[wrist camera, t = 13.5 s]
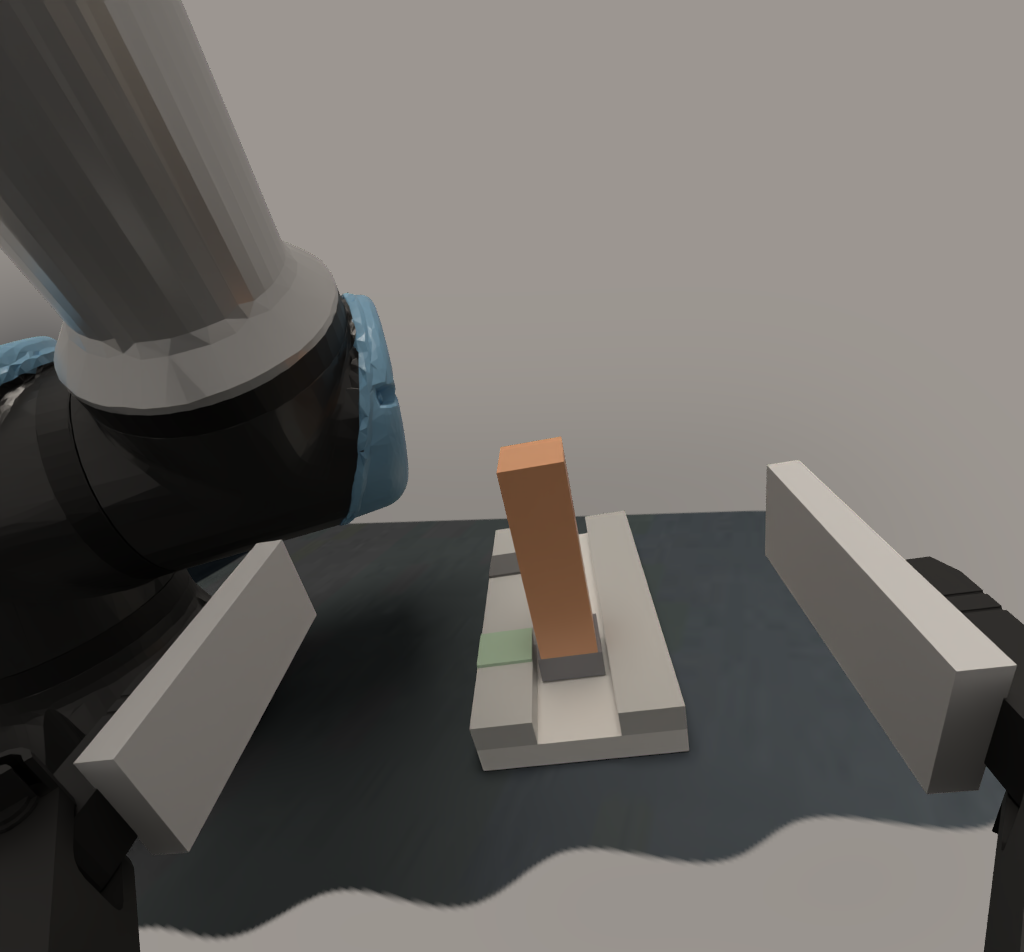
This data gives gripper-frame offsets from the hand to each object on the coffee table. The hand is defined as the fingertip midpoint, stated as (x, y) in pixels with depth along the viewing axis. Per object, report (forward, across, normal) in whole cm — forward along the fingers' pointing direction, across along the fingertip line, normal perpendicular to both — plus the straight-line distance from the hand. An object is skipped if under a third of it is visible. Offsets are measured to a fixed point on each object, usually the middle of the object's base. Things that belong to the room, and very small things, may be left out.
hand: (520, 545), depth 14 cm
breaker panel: (+14, 0, -16) cm, 21 cm away
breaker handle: (+10, 0, -15) cm, 18 cm away
